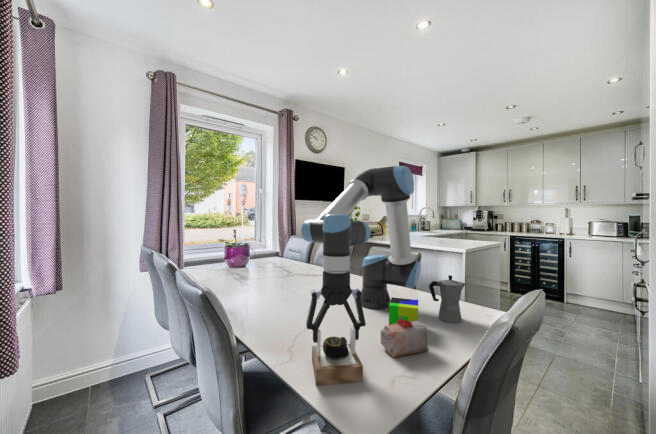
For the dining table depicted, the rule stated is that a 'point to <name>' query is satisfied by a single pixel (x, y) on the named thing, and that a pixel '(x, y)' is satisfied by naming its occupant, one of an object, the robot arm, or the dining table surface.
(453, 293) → the coffeepot
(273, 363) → the dining table surface
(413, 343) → the food item
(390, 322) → the puzzle toy
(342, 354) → the tape measure
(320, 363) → the base block
